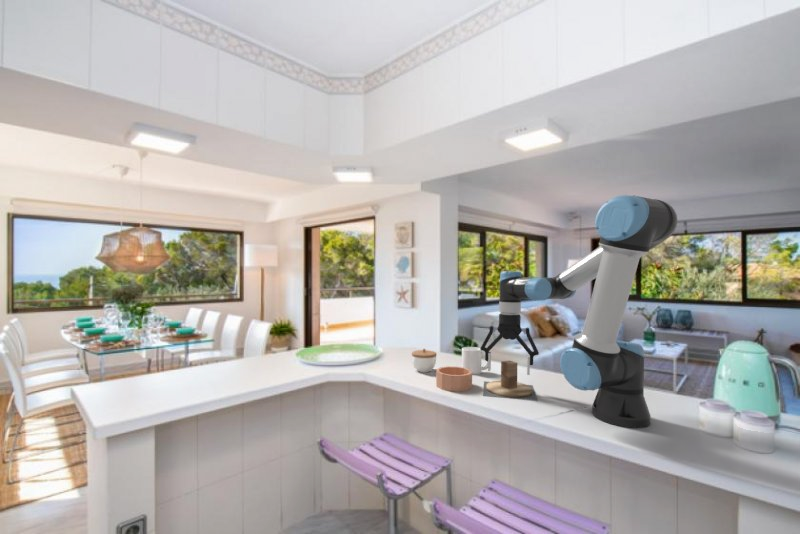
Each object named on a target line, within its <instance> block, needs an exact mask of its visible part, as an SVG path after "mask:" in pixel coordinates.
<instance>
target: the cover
mask: <svg viewBox="0 0 800 534" xmlns="http://www.w3.org/2000/svg"><path fill="white" fill-rule="evenodd" d="M500 363H501V364H500V380H493V381H488V382H489V383H487V385H486V389H487V391H488V392H490V393H492V394H495V395H498V396H503V397H511V398H522V397H528V396H530V395H532V388H531V387H530V386H528V385H529V384H526V383H522V382H519V381H518V362H516V361H513V360H502V361H500Z"/></svg>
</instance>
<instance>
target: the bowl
mask: <svg viewBox="0 0 800 534" xmlns="http://www.w3.org/2000/svg"><path fill="white" fill-rule="evenodd" d="M435 374H436V376H435V382H436V383H435V386H436V387H437V388H439V389H440V390H442V391H443V390H444V391H448V392H464V391H465V392H466V391H469V390H471V389H472V388H473V374H472V371H471V370H469V369H466V368H462V366H448V365H447V366H441V367H438V368H437V369H436V373H435Z"/></svg>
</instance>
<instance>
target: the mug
mask: <svg viewBox="0 0 800 534" xmlns="http://www.w3.org/2000/svg"><path fill="white" fill-rule="evenodd" d="M480 348H481V347H476V346H464V347H461V367H462V368H466V369H469V370H471V371H472V375H479V374H481V373H482V371H486V370H488V361H486V365H485V366H482V357H484V358H485V352H482V351H483V350H481V349H480Z"/></svg>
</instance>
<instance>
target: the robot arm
mask: <svg viewBox="0 0 800 534" xmlns="http://www.w3.org/2000/svg"><path fill="white" fill-rule="evenodd" d="M594 221H595V223H594V225H595V229H596V231H597V233H598V235H599V236H600V238H599V242H598V245H599V246H598V247H596V248H595V249H594V250H592V251H591V252H590V253H588V254H586V255H585V256H584V257H582V258H581V259H579V260H578V261H576V262H575V263H573V264H571V265H570V266H569V267H567V268H566V269H564V270H563V271H562V272H560V273H558V274H557V275H555V276H554V277H537V276H536V277H535V276H534V277H531V276H530V277H526V276H525V277H523V276H522V271H517V270H516V271H514V270H511V271H510V270H505V271H504V270H502V271H501V272H500V273H499V274H500V275H499V281H498V282H499V303H498V310H499V311H498V312H499V314H498V326H496V325H495V326H494V325H493V324H491V325H490V326H489V332H488V333H487V335H486V337H485V339H484V341H483V342H482V344H481V346H480V347H479V348H480V349H481V350H482V351H483V352H484V353H485V357H484V360H485V362H487V361H488V369H487V372H490V371H491V369H492V366H491V365H492V362H491V361H492V351H491V349H493V347H494V346H496V345H497V344H498V342H500V340H502V339H504V340H512V341H514V340H517V342H518V343H519V344H520V345H521V346H522V347H523V348H524V350H525V351H526V352H527V359H526V361H527V363H526V366H527V367H526V369H527V370H526V375H527V376H530V375H531V373H530V372H531V371H530V370H531V369H530V368H531V367H530V366H534V357H535V356H538V355H540V353H539V350H538V348H537V345H536V343H535V341H534V339H533V338H532V336H531V331H530V327H528V326H527V327H524V328H522V327H521V319H522V318H521V316H522V315H521V311H522V307H521V306H522V299H525V300H532V301H546V300H566V299H570V298H572V297H573V296H574V295H575V294H576V293H577V290H578V289H580V288H581V287H583V286H585V285H586V284H588V283H590V282H592V281H593V280H595V281H594V286H593V288H592V289H593V290H592V292H591V293H592V294H591V296H590V301H589V305H588V309H587V312H586V313H587V314H586V317H585V320H584V324H583V328H582V331H581V332H580V333H578V334H576V335H575V336H574V339H573V343H572V347H569V348H568V349H565V350H564V351H563V352H562V354H561V356H560V359H559V360H560V361H559V366H560V369H561V373H562V374H563V376H564V379H565V380H566V381H567V383H568V384H570V385H571V386H572V387H574V388H575V389H577V390H580V391H584V392H585V391H596V390H597V392H596V395H595V398H594V400H593V403H592V405H591V408H592V409H591V410H592V412H591V413H592V414H591V415H593V416H594V417H595V418H597V419H598V420H600V421H603V422H604V423H608V424H610V425H616V426H620V427H623V428H624V427H625V428H636V429H638V428H646V427H649V426H651V421H652V420H651V419H652V418H651V417H652V416H651V413H650V411H649V407H648V405H647V401H646V399H645V398H646V397H645V395H644V394H645V393H644V390H645V389H644V387H645V386H644V385H645V353H644V352H645V351H644V347H643V345H641V344H639V343H635V342H630V341H624V340H618V336H619V332H620V330H621V326H622V322H623V319H624V315H625V312H626V308H627V304H628V300H629V297H630V294H631V290H632V286H633V283H634V279H635V276H636V273H637V269H638V265H639V262H640V259H641V258H642V257H644V256H645V255H648V254H649V252H650V251H651V250H652V249H654V248H656V247H657V246H658V245H660V244H662V243H664V242H665V241H666V240H668V239H669V238H670V237H672V235H673V234H674V233H675V231H676V228H677V226H678V215H677V212H676V211H675V209H674V208H673V206H672V205H670V204H669V203H668V202H666V201H664V200H660V199H654V198H648V197H644V196H639V195H638V196H637V195H627V194H625V195H617V196H614V197H612V198H610V199H609V200H607V201H606V202H604V203H603V204H602V205H601V207H600V208H599V209H598V211H597V212H596V215H595V220H594ZM496 331H497V332H498V333H499V335H498V336H497V337H496V338H495V339H494V340H493V341H492V342H491V343H490V344H489V345H488V346H487V344H488V342H489V340H490V339H491V337H492V335H493V333H495V332H496ZM521 333H523V334H524V335H526V337H527V339H528V342H529V344H530V345H531V348H532V350H531V348H530V346H528V345H527V343H526V342H525V341H524V340H523V338H522V337H521V336H520V335H521ZM486 346H487V347H486Z"/></svg>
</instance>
